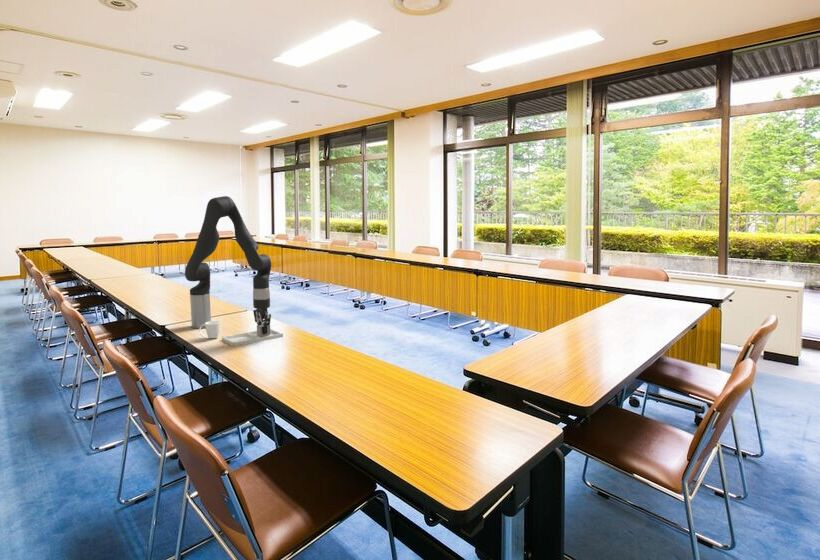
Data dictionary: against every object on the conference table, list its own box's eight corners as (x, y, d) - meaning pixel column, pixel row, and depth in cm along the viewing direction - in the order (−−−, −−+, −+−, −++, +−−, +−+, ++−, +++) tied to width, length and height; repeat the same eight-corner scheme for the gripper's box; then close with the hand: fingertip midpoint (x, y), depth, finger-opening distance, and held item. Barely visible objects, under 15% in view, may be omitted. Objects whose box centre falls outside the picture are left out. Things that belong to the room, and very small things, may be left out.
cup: (216, 341, 214) (216, 324, 213) (196, 340, 215) (195, 323, 214) (224, 337, 221) (223, 321, 220) (204, 336, 222) (203, 320, 221)
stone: (256, 335, 219) (256, 325, 218) (265, 334, 222) (264, 324, 221) (260, 337, 216) (260, 327, 215) (268, 336, 219) (268, 326, 218)
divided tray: (222, 340, 215) (221, 336, 215) (270, 332, 232) (270, 328, 231) (233, 347, 206) (233, 342, 206) (282, 337, 222) (282, 333, 222)
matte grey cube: (258, 334, 225) (258, 324, 225) (266, 333, 228) (266, 323, 227) (262, 336, 223) (262, 326, 222) (270, 334, 225) (270, 324, 225)
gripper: (247, 296, 219) (248, 331, 221) (260, 300, 208) (261, 337, 211) (262, 294, 224) (263, 328, 226) (276, 298, 213) (277, 334, 216)
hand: (262, 332), depth 219 cm, fingers closed on stone, 4 cm apart
